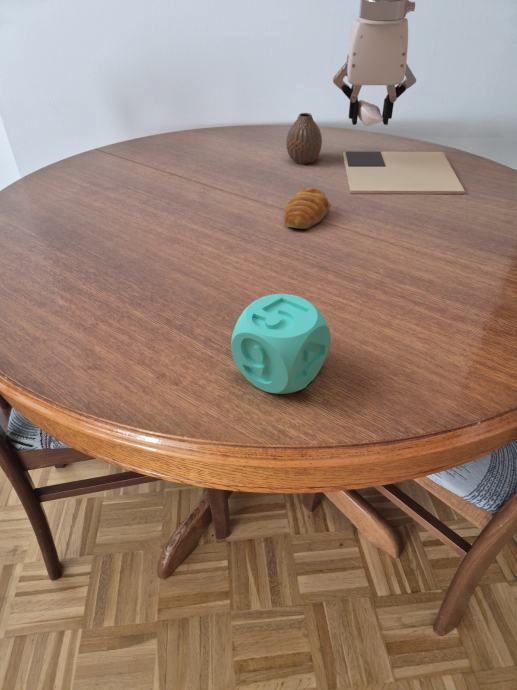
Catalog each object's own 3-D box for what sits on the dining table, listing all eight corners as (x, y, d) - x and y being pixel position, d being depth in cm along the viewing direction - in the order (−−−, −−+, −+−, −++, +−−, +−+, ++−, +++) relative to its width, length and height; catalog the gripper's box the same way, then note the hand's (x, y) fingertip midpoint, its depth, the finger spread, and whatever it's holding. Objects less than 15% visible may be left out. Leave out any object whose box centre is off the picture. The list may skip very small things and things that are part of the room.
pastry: (314, 235, 85) (315, 213, 83) (274, 228, 87) (274, 206, 85) (332, 210, 92) (333, 188, 89) (294, 203, 94) (295, 182, 91)
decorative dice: (328, 365, 63) (334, 310, 57) (288, 406, 58) (290, 349, 53) (273, 338, 66) (273, 284, 61) (231, 374, 62) (227, 319, 57)
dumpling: (350, 120, 105) (355, 98, 103) (375, 125, 105) (381, 103, 103) (358, 126, 98) (364, 102, 97) (385, 130, 99) (391, 107, 97)
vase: (326, 157, 109) (329, 112, 103) (310, 169, 105) (312, 123, 99) (296, 151, 112) (298, 106, 106) (279, 162, 107) (280, 117, 102)
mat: (442, 154, 109) (443, 150, 109) (464, 194, 96) (465, 189, 95) (342, 154, 110) (342, 150, 110) (350, 193, 97) (350, 189, 96)
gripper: (429, 5, 93) (411, 115, 104) (329, 6, 93) (322, 115, 105) (439, 14, 87) (418, 129, 99) (332, 15, 88) (324, 129, 99)
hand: (369, 121), depth 102 cm, fingers closed on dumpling, 5 cm apart
